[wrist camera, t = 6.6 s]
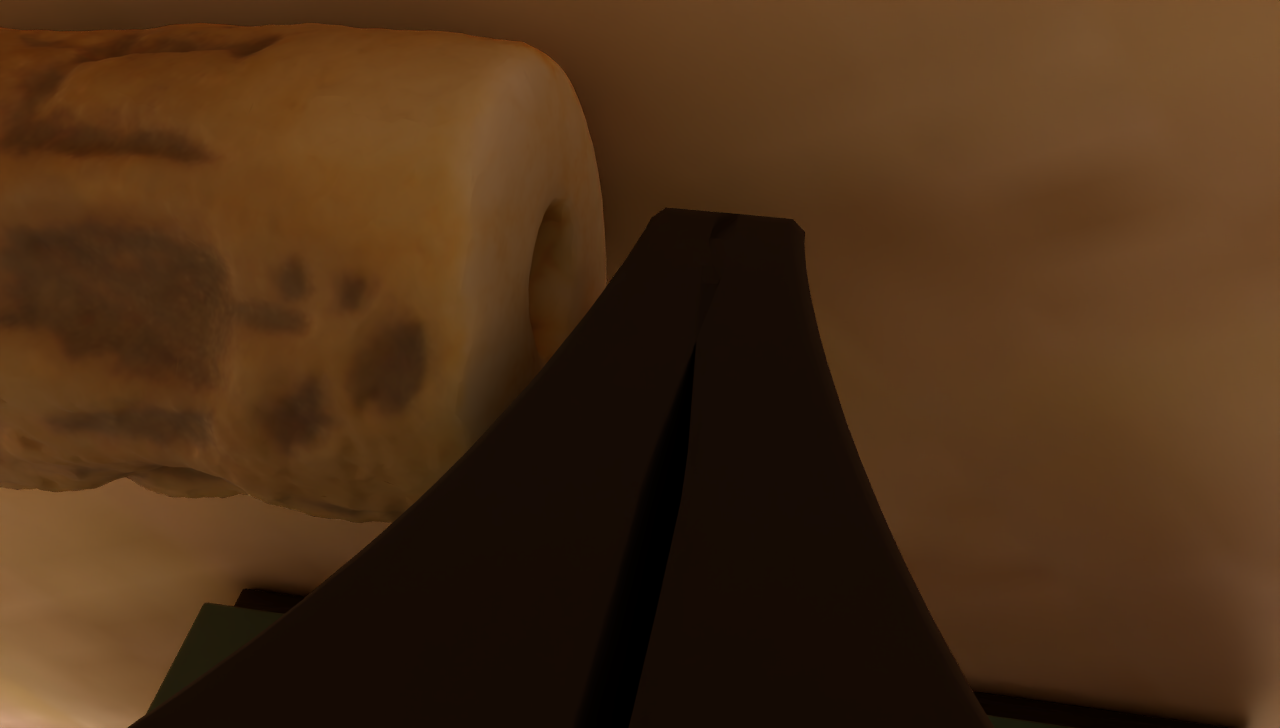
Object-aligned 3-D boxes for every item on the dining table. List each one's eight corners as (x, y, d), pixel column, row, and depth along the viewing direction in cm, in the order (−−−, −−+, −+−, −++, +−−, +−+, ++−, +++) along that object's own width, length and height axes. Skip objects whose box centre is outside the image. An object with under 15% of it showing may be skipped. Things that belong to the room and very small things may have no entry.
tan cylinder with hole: (-38, 301, 14) (-280, 580, 11) (-274, -35, 11) (-687, 229, 8) (639, 313, 12) (557, 647, 9) (574, -80, 9) (428, 233, 6)
